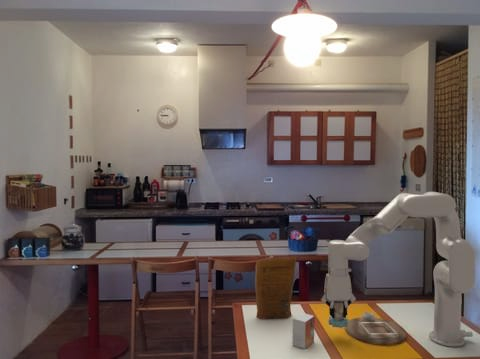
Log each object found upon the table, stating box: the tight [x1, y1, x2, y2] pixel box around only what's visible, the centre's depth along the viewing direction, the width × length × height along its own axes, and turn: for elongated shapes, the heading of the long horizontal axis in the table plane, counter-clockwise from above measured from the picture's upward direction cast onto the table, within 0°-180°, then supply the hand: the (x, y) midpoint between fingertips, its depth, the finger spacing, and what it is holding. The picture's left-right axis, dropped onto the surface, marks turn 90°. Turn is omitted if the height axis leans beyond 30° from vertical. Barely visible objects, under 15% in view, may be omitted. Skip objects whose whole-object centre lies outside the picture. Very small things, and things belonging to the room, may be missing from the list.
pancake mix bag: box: [254, 256, 297, 320], centre depth 183 cm, size 7×19×28 cm, turn 98°
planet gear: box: [327, 301, 349, 329], centre depth 162 cm, size 8×8×9 cm
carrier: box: [344, 311, 407, 346], centre depth 169 cm, size 24×24×4 cm
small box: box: [292, 312, 316, 349], centre depth 157 cm, size 8×6×10 cm
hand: (338, 316), depth 162 cm, fingers closed on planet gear, 4 cm apart
